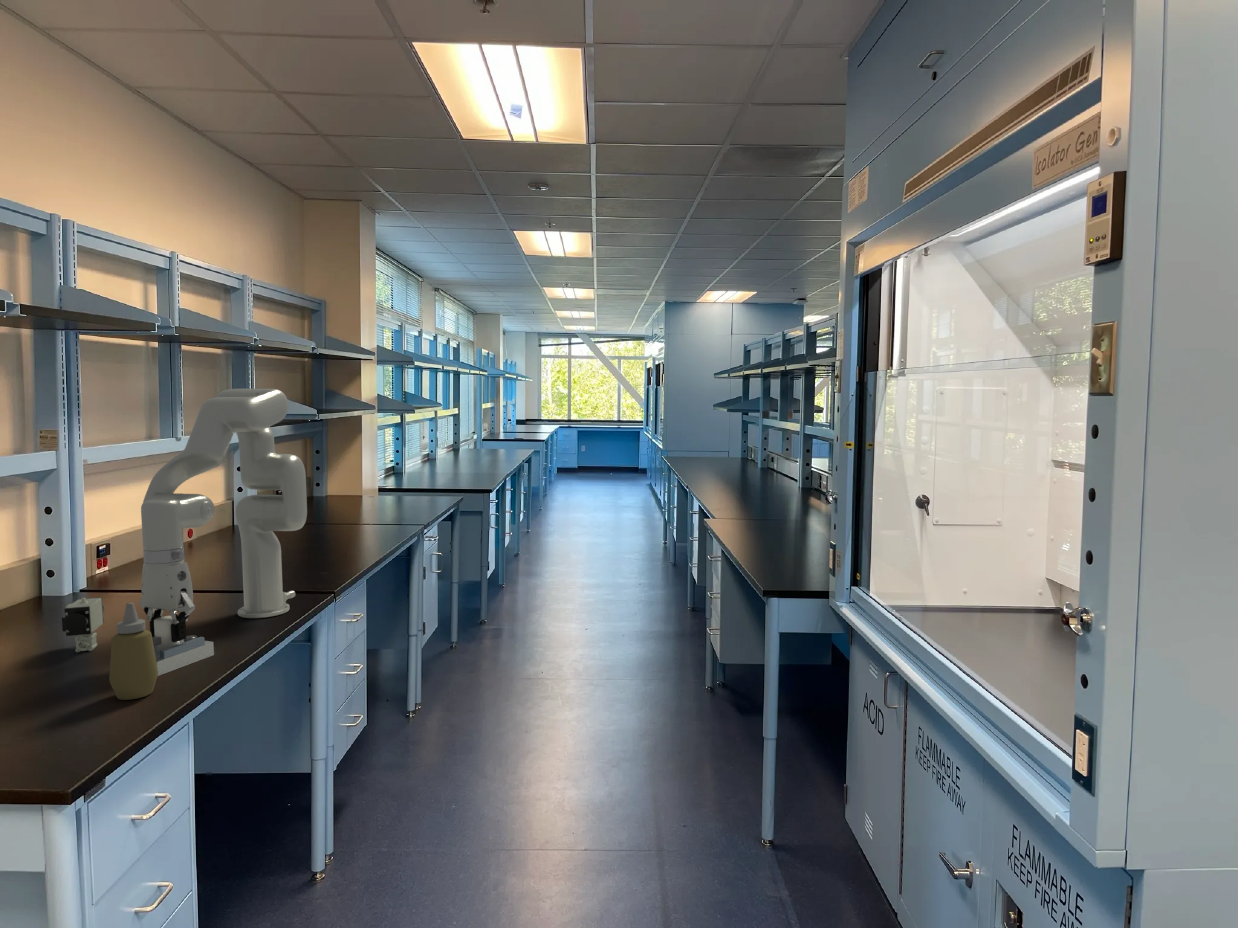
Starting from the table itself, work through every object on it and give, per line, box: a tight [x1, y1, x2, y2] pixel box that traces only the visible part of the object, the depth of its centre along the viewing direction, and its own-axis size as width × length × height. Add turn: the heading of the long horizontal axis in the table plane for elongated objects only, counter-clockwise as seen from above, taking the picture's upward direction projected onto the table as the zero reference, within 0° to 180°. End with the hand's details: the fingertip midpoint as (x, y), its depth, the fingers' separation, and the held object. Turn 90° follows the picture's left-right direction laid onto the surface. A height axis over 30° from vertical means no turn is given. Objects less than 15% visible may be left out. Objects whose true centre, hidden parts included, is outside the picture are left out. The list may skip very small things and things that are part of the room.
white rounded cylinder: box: [152, 615, 182, 650], centre depth 166 cm, size 7×5×6 cm
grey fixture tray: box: [154, 634, 215, 677], centre depth 167 cm, size 14×10×5 cm
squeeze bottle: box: [108, 602, 159, 701], centre depth 148 cm, size 8×8×18 cm
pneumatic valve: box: [61, 596, 105, 653], centre depth 176 cm, size 6×12×12 cm, turn 18°
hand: (168, 637), depth 167 cm, fingers open, 5 cm apart
